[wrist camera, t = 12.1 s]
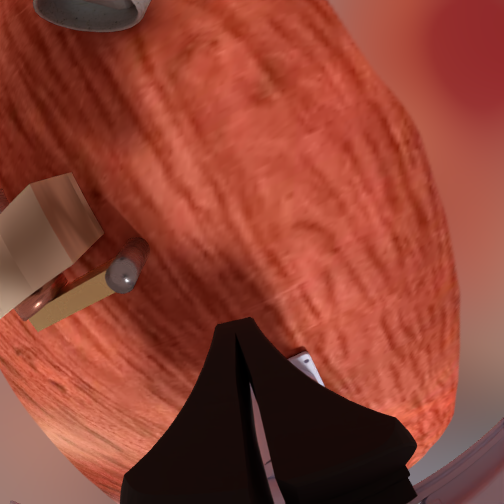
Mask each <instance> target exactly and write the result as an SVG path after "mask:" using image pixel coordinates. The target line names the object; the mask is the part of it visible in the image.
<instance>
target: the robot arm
mask: <svg viewBox="0 0 504 504" xmlns="http://www.w3.org/2000/svg"><path fill="white" fill-rule="evenodd" d="M306 359H307V360H306ZM416 448H417V443H416V441H415V440H414V438H413V437H412V435H411V434H410V432H409V431H408V430H407V429H406V428H405V427H404V426H403V425H402V424H401V422H400V421H399V420H398V419H397V418H396V417H392V416H389V415H386V414H383V413H380V412H377V411H374V410H371V409H369V408H366V407H364V406H361V405H359V404H357V403H354V402H352V401H350V400H348V399H346V398H344V397H342V396H340V395H338V394H336V393H335V392H333V391H331V390H329V389H327V388H326V387H325V386H324V384H323V382H322V379H321V377H320V375H319V373H318V371H317V369H316V367H315V365H314V363H313V361H312V359H311V356H310V354H309V353H308V352H302V353H300V354H298V355H296V356H293V357H291V358H289V359H287V358H285V357H284V356H283V355H282V354H281V353H280V352H279V351H278V350H277V349H276V348H275V347H274V345H273V344H272V343H271V342H270V341H269V340H268V339H267V338H266V337H265V335H264V334H263V333H262V331H261V330H260V329H259V327H258V326H257V324H256V323H255V321H254V319H253V318H251V317H248V318H243V319H239V320H235V321H230V322H226V323H221V324H217V326H216V327H215V331H214V336H213V340H212V343H211V346H210V349H209V352H208V355H207V358H206V361H205V363H204V366H203V368H202V371H201V373H200V375H199V377H198V380H197V382H196V384H195V386H194V388H193V390H192V392H191V394H190V396H189V398H188V399H187V401H186V403H185V404H184V406H183V408H182V409H181V411H180V412H179V414H178V415H177V417H176V418H175V420H174V421H173V423H172V424H171V426H170V427H169V428H168V430H167V431H166V432H165V433H164V434H163V436H162V437H161V438H160V439H159V440H158V442H157V443H156V444H155V445H154V446H153V448H152V449H151V450H150V451H149V452H148V453H147V454H146V455H145V456H144V457H143V458H142V459H141V460H140V461H139V462H138V463H137V464H136V465H135V466H133V467H132V468H131V469H130V470H129V471H128V472H127V473H126V474H125V475H124V478H123V483H122V487H121V495H120V504H418V503H419V502H421V501H422V502H421V503H420V504H504V418H503V419H502V420H500V422H498V423H497V425H495V426H494V427H493V428H492V429H491V430H490V431H489V432H488V433H486V434H485V435H484V436H483V437H482V438H481V439H480V440H478V441H477V442H476V443H475V444H474V445H473V446H471V447H470V448H469V449H467V450H466V451H465V452H464V453H462V454H461V455H459V456H458V457H457V458H455V459H454V460H453V461H451V462H450V463H449V464H447V465H446V466H444V467H443V468H441V469H440V470H438V471H437V472H436V473H434V474H432V475H431V476H429V477H427V478H426V479H424V480H423V481H421V482H419V483H418V484H416V485H414V486H412V484H411V482H410V481H409V479H408V477H409V476H410V473H409V471H408V469H407V467H406V466H405V465H406V464H407V462H408V461H409V460H410V458H411V457H412V455H413V454H414V452H415V450H416ZM10 504H19V503H17V502H14V501H10Z"/></svg>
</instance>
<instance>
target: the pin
mask: <svg viewBox="0 0 504 504" xmlns="http://www.w3.org/2000/svg"><path fill="white" fill-rule="evenodd" d="M8 205H9V202H8V200H7V198H6V196H5V193H4V191H3V189H0V214H1V213H2V212H3V211H4V209H5V208H6V207H7V206H8ZM67 281H68V280H67V279H66V277H65V276H64V274H63V273H62V272H61V273H60V274H58V275H57V276H56V277H54V278H53V279H51V280H50V281H49V282H47V283H46V284H44V285H43V286H42V287H40V288H39V289H38V290H36V291H35V292H34V293H32V294H31V295H30V296H28V297H27V298H26V299H24V300H23V301H22V302H21V303H19V304H18V305H17V306H16V307H14V309H15V311H16V312H17V314H18V315H19V316H20V318H21V319H22V320H23V321H26V320H28V319H29V318H31V317H32V316H33V315H35V314H36V313H37V312H38V311H40V310H41V309H42V308H43V307H44V306H45V305H46V304H48V303H49V302H50V301H51V300H52V299H53V298H54V297H55V296H56V295H57V294H58V293H59V292H60V291H61V290H62V288H63V287H64V286H65V285H66V283H67Z"/></svg>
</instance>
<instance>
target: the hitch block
mask: <svg viewBox="0 0 504 504" xmlns="http://www.w3.org/2000/svg"><path fill="white" fill-rule="evenodd" d="M103 234H104V231H103V229H102V228H101V226H100V224H99V223H98V221H97V219H96V217H95V216H94V214H93V212H92V210H91V208H90V207H89V205H88V203H87V201H86V199H85V197H84V196H83V194H82V192H81V190H80V188H79V186H78V184H77V182H76V180H75V178H74V176H73V174H72V172H70V173H66V174H62V175H59V176H55V177H51V178H48V179H44V180H41V181H37V182H34V183H31V184H29V185H28V186H27V187H26V188H25V189H24V190H23V191H22V192H21V193H20V194H19V195H18V196H17V197H16V198H15V199H14V200H13V201H12V202H11V203H10V204H9V205H8V206H7V207H6V208H5V209H4V211H3V212H2V213H1V214H0V319H1V318H2V317H3V316H4V315H6V314H7V313H8V312H9V311H11V310H12V309H13V308H14V307H16V306H17V305H18V304H19V303H21V302H22V301H23V300H24V299H26V298H27V297H28V296H30V295H31V294H32V293H34V292H35V291H36V290H38V289H39V288H40V287H42V286H43V285H44V284H46V283H47V282H49V281H50V280H51V279H53V278H54V277H56V276H57V275H58V274H60V273H61V272H63V271H64V270H66V269H67V268H68V267H70V266H71V265H73V264H74V263H75V262H76V261H77V260H78V259H79V258H80V257H81V256H82V255H83V254H84V253H85V252H86V251H87V250H88V249H89V248H90V247H91V246H92V245H93V244H94V243H95V242H96V241H97V240H98V239H99V238H100V237H101V236H102V235H103Z"/></svg>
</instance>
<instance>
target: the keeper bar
mask: <svg viewBox="0 0 504 504" xmlns="http://www.w3.org/2000/svg"><path fill="white" fill-rule="evenodd" d="M148 255H149V246H148V244H147V242H146V241H145V240H144V239H142V238H139V237H134V238H131V239H129V240H128V241H127V243H126V244H125V245H124V247H123V248H122V249H121V251H120V252H119V253H118V255H117V256H116V257H115V258H113V259H111V260H109V261H108V262H106V263H104V264H102V265H100V266H99V267H97V268H95V269H93V270H92V271H90V272H88V273H86V274H85V275H83V276H81V277H79V278H78V279H76V280H74V281H73V282H71V283H69V284H67V285H66V286H64V287H63V288H62V290H61V291H60V292H59V293H58V294H57V295H56V296H55V297H54V298H53V299H52V300H51V301H50V302H49V303H48V304H46V305H45V306H44V307H43V308H42V309H41V310H40V311H38V312H37V313H36V314H35V315H33V316H32V317H31V318H29V321H30V322H31V323H32V325H33V326H34V327H35V329H36V330H37V331H38V332H39V331H41V330H43V329H44V328H46V327H48V326H50V325H52V324H54V323H56V322H58V321H60V320H62V319H64V318H66V317H68V316H70V315H71V314H73V313H75V312H77V311H79V310H81V309H83V308H85V307H87V306H89V305H91V304H93V303H95V302H97V301H99V300H101V299H103V298H105V297H107V296H109V295H111V294H113V293H115V292H117V293H121V294H124V293H128V292H130V291H131V290H132V289H133V288H134V285H135V283H136V281H137V279H138V277H139V274H140V272H141V270H142V268H143V266H144V263H145V261H146V259H147V257H148Z"/></svg>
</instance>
